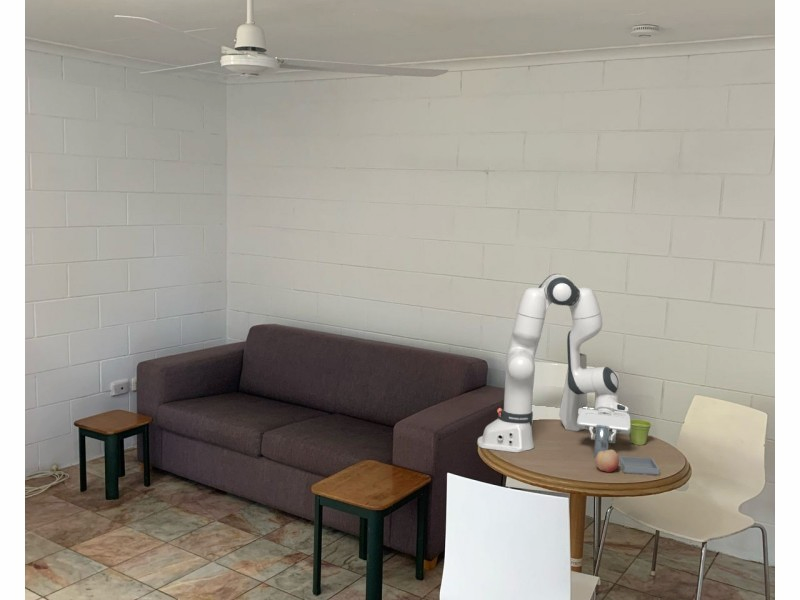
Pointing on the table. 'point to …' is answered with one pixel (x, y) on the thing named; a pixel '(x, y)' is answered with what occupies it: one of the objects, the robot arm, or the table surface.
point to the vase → (572, 402)
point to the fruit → (607, 460)
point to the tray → (638, 465)
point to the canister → (601, 439)
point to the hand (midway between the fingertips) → (601, 440)
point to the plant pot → (639, 431)
